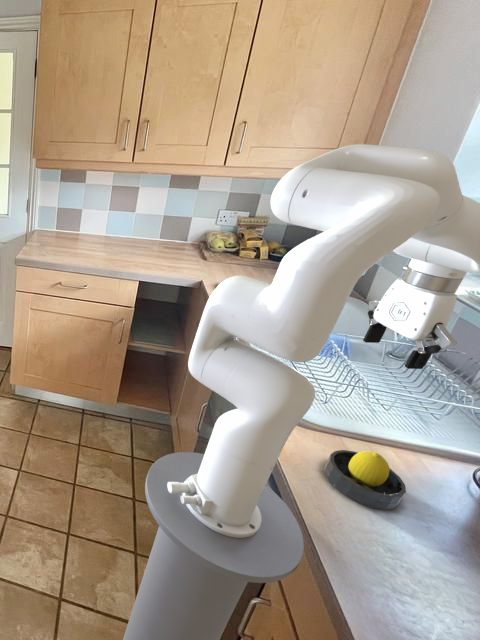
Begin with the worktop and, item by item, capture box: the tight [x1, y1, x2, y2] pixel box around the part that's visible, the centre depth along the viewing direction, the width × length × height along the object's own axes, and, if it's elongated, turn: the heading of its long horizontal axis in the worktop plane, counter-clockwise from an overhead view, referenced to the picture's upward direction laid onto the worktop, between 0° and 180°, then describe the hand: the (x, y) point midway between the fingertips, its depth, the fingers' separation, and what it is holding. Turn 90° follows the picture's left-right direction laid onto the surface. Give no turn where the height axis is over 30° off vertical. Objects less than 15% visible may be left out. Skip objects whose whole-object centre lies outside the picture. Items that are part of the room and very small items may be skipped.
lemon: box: [348, 450, 390, 487], centre depth 81 cm, size 6×6×8 cm
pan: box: [323, 449, 407, 511], centre depth 82 cm, size 11×11×4 cm
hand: (390, 354), depth 87 cm, fingers open, 9 cm apart
